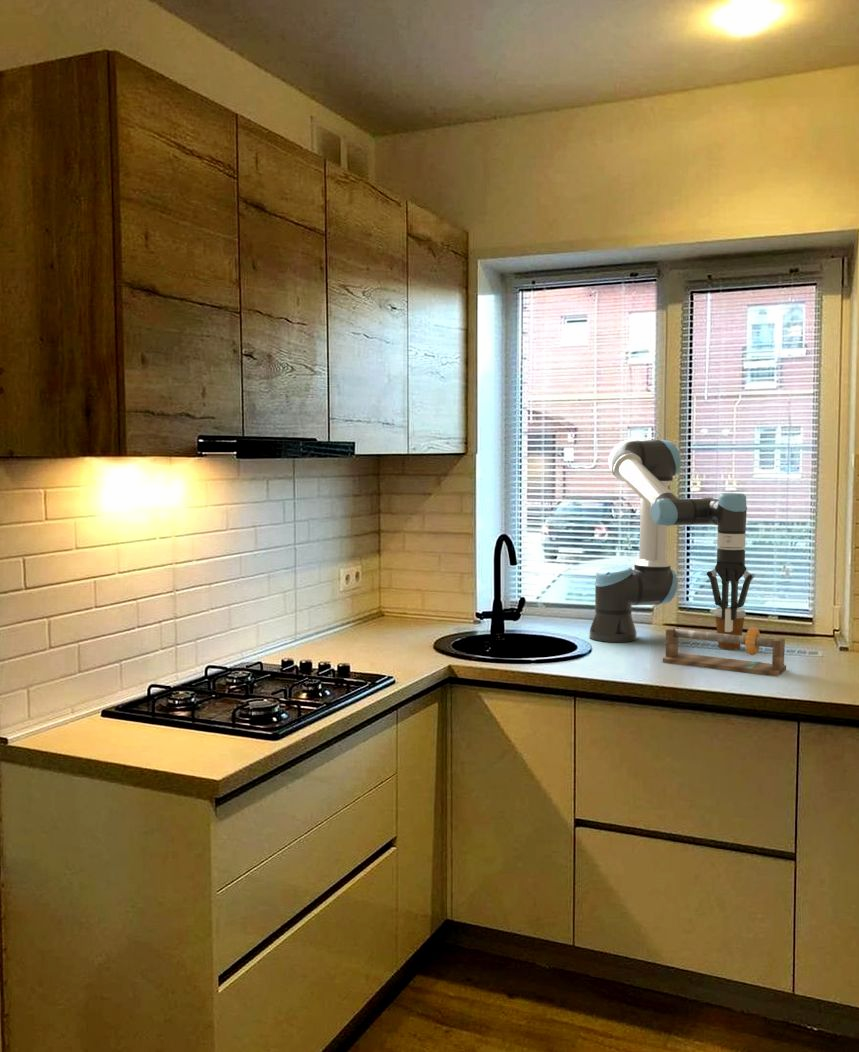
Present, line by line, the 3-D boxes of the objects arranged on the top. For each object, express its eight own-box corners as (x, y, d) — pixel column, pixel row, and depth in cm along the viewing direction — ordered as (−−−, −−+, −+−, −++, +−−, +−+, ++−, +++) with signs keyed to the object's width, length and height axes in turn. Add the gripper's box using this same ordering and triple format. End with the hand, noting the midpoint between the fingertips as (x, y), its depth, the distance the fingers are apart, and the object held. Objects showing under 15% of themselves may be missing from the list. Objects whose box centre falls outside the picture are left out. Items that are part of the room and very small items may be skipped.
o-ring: (743, 657, 259) (744, 628, 259) (751, 652, 266) (752, 624, 265) (753, 658, 258) (754, 629, 257) (760, 653, 265) (761, 625, 264)
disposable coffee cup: (710, 648, 290) (711, 610, 290) (716, 643, 299) (717, 606, 298) (742, 651, 286) (743, 612, 285) (747, 646, 294) (748, 608, 294)
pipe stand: (662, 662, 271) (663, 630, 271) (674, 656, 280) (674, 625, 279) (777, 676, 254) (778, 642, 253) (786, 669, 262) (787, 636, 261)
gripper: (703, 548, 264) (701, 630, 266) (751, 550, 257) (748, 635, 259) (711, 545, 270) (709, 626, 272) (758, 548, 263) (755, 631, 265)
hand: (728, 631), depth 266 cm, fingers closed
